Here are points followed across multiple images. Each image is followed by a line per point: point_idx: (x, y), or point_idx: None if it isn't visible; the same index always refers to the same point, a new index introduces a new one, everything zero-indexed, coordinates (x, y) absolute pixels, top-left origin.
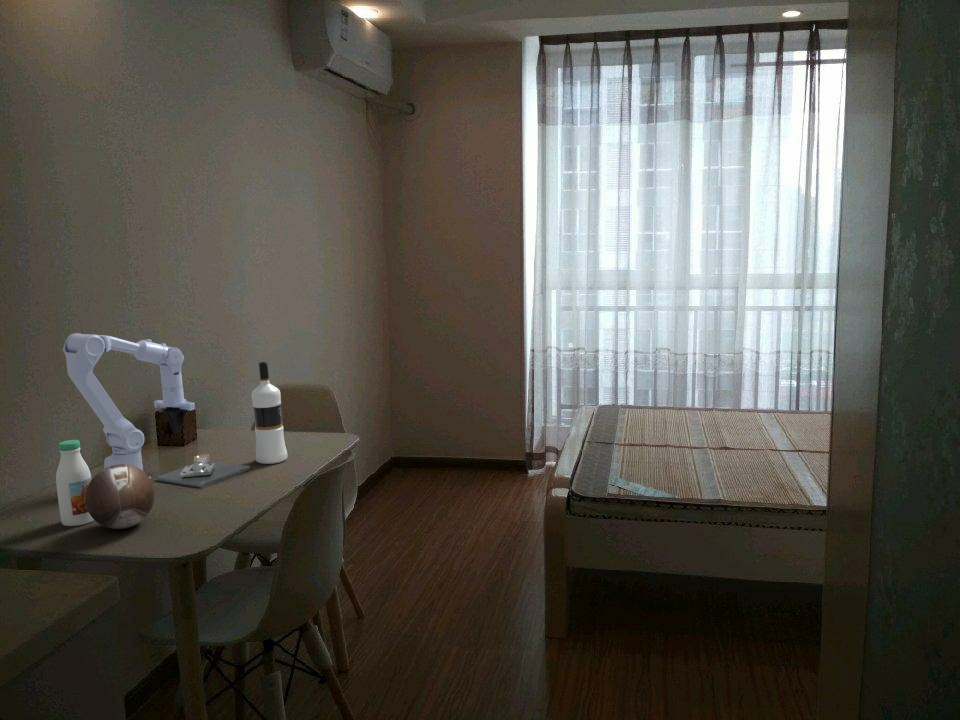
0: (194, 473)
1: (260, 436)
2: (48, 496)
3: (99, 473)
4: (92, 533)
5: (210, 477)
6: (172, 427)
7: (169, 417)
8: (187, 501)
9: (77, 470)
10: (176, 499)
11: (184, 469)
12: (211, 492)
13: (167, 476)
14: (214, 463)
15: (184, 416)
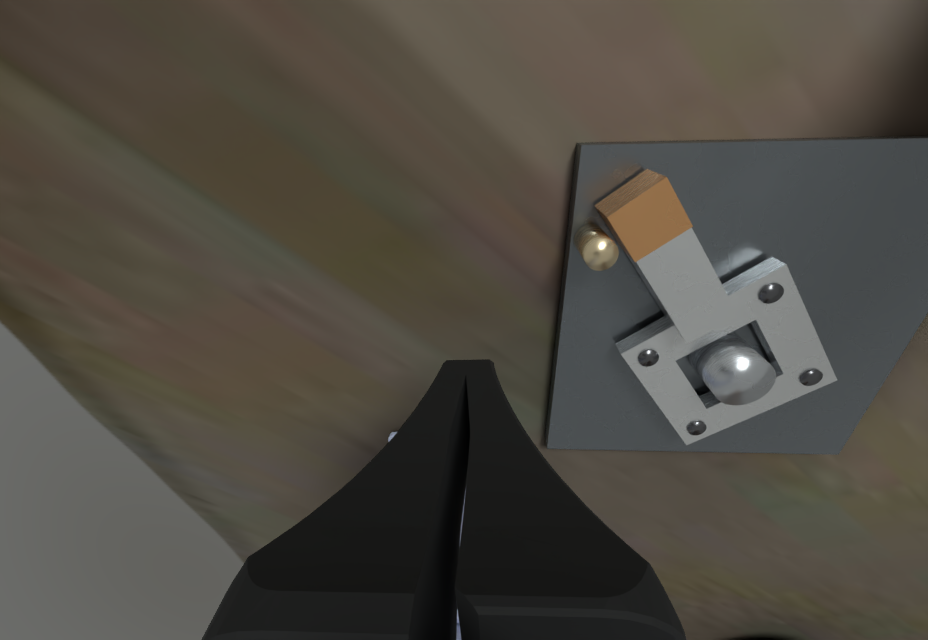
0: (751, 412)
1: None
2: None
3: None
4: None
5: (834, 382)
6: (465, 476)
7: (455, 628)
8: (844, 532)
9: None
10: (788, 530)
11: (662, 399)
12: (902, 461)
13: (593, 430)
14: (786, 269)
15: (561, 483)
